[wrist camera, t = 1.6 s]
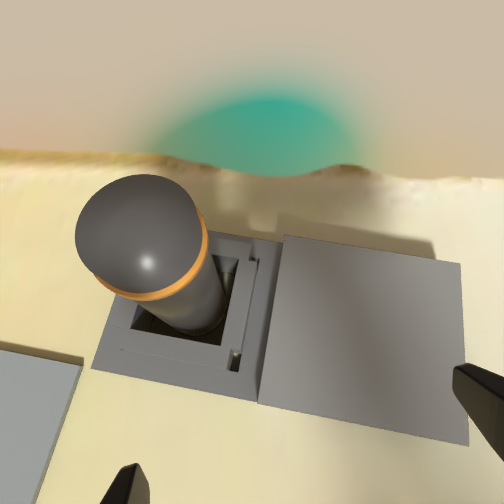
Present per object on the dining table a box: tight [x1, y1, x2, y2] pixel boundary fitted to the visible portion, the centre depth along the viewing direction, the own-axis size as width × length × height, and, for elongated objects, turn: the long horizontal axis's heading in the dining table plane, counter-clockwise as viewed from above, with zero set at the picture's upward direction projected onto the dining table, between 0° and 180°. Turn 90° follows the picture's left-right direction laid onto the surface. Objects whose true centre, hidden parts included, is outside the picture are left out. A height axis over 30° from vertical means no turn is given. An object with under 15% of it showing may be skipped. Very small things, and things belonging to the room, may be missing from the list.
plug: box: [75, 174, 226, 336], centre depth 18 cm, size 5×5×13 cm
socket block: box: [91, 231, 469, 446], centre depth 22 cm, size 11×23×4 cm, turn 80°
